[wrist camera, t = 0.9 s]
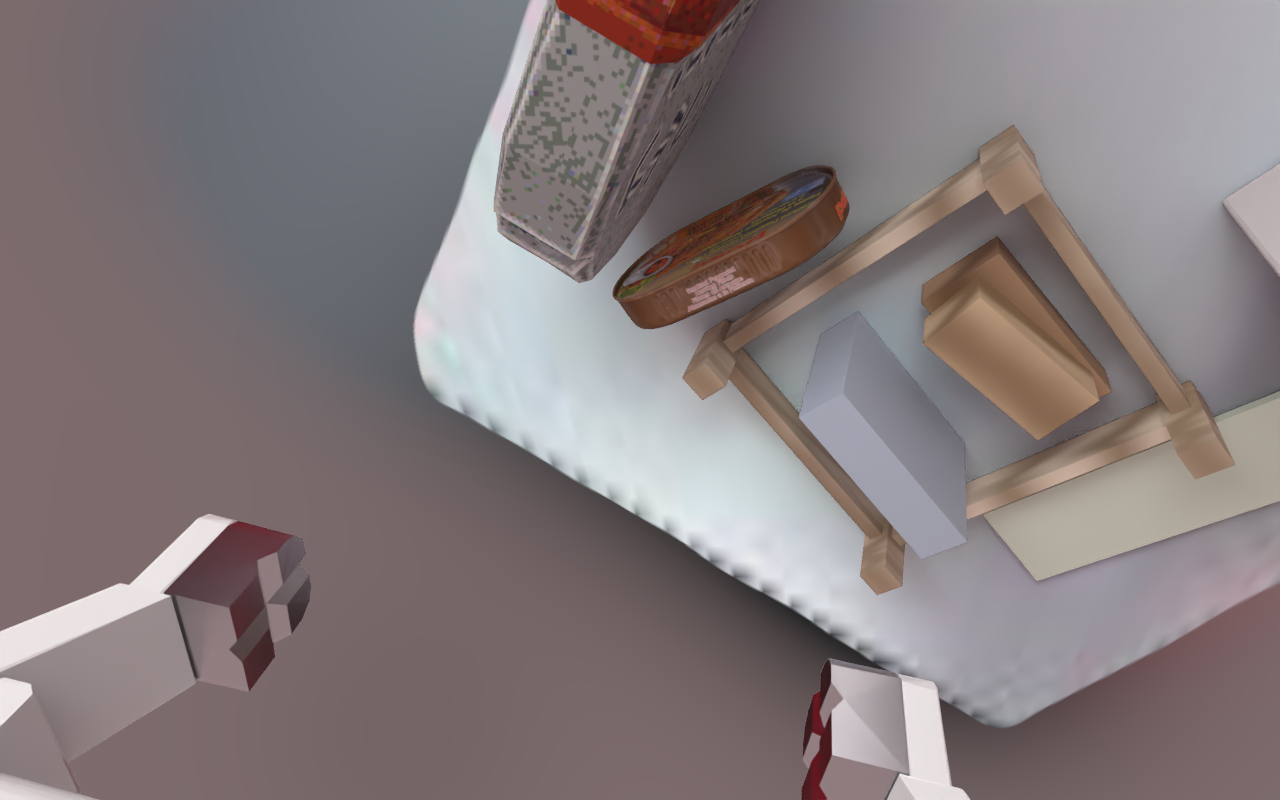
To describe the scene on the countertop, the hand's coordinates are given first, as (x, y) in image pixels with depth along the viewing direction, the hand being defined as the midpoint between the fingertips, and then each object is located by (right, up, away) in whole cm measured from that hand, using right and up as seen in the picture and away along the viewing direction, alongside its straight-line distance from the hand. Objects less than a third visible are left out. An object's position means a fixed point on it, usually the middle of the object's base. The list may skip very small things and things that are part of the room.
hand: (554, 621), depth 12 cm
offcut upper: (+23, +7, +35) cm, 42 cm away
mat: (+34, -3, +40) cm, 53 cm away
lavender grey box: (+18, +4, +42) cm, 46 cm away
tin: (+8, +15, +39) cm, 42 cm away
